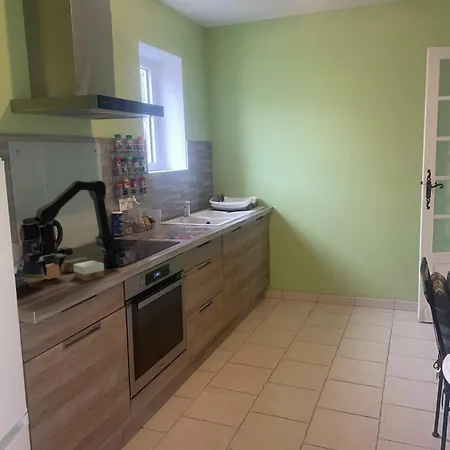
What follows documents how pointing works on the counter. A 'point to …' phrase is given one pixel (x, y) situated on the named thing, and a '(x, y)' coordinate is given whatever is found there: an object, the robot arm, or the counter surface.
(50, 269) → the cube
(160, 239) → the counter surface
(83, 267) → the tower top
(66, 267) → the stone block
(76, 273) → the tower bottom
